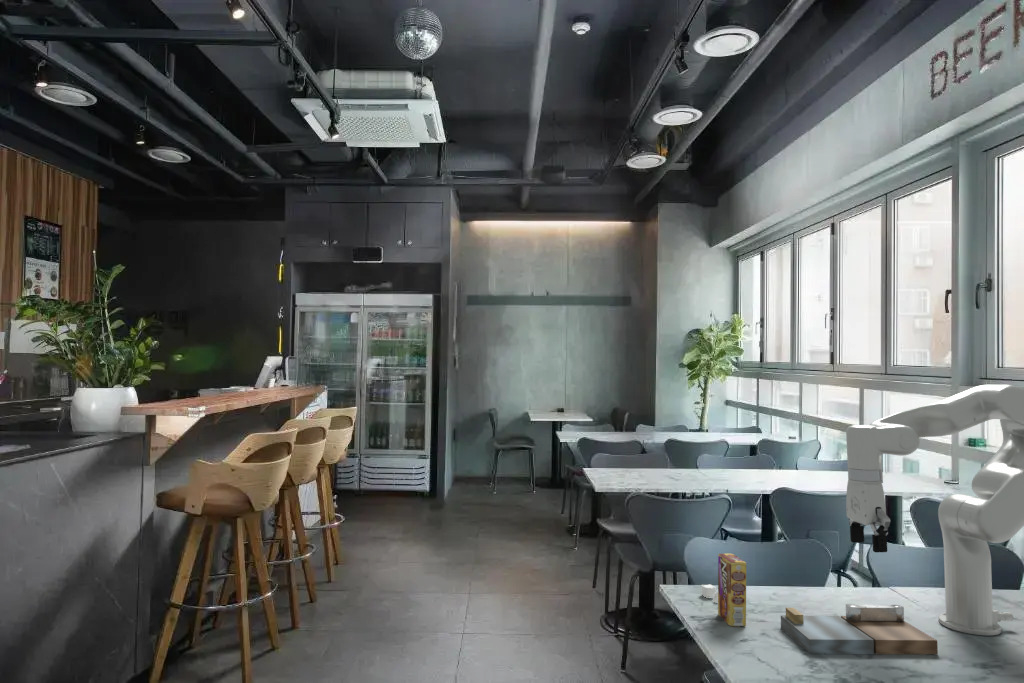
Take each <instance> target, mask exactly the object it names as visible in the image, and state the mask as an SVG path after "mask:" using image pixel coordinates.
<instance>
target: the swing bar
mask: <svg viewBox="0 0 1024 683" xmlns="http://www.w3.org/2000/svg"><path fill="white" fill-rule="evenodd" d="M845 616H846V619H848V620H850V621H857V622H858V621H905V608H904V606H903V605H900V604H899V605H898V604H855V603H847V604H845Z"/></svg>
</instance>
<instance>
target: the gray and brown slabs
mask: <svg viewBox="0 0 1024 683" xmlns="http://www.w3.org/2000/svg"><path fill="white" fill-rule="evenodd" d="M781 628H782V629H783V632H785V633H786V634H787V635H788V636H789V637H790V636H791V637H790V638H791V639H793V640H794V642H796V643H797V644H798V645H799V646H801V648H803V649H804V650H805V651H806V652H807V653H808V654H813V655H815V654H819V655H822V654H824V653H826V654H824V655H838V654H839V655H874V654H875V655H926V654H939V652H938V647H939V646H938V639H935V638H934V637H932V636H931V635H929V634H927V633H926V632H923V631H922V630H921V629H919V628H917V627H915V626H914V625H912V624H910V623H909V622H907V621H906V620H904V621H858V622H857V621H850V620H848V619H846V615H804V614H803V613H802V612H800V611H799V610H798V609H796V608H795V607H785V614H783V615H782V614H781V615H780V629H781ZM782 629H781V630H782Z"/></svg>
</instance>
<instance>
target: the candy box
mask: <svg viewBox="0 0 1024 683" xmlns="http://www.w3.org/2000/svg"><path fill="white" fill-rule="evenodd" d="M717 556H718V558H717V559H718V562H717V563H718V564H717V565H718V566H717V567H718V568H717V569H718V570H717V571H718V572H717V574H718V575H717V577H718V578H717V592H718V604H717V615H718V616H719V617H720V618H721V619H722V620H723V621H724V622H725V623H727V625H728V626H730V627H740V626H747V562H746V561H744V560H743V559H741V558H740V557H738V556H737V555H735V554H733V553H718V554H717Z"/></svg>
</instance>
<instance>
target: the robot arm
mask: <svg viewBox="0 0 1024 683" xmlns="http://www.w3.org/2000/svg"><path fill="white" fill-rule="evenodd" d="M992 420H999V423H1000V427H1001V432H1002V444H1001V446H1000V448H999V449H998V450H997V452H995V454H993V455H992V457H990V459H989V460H987V462H986V463H985V464H984V465H983V466H982V467H981V468H980V469H979V470H978V471H977V472H976V474H975V475H974V477H973V479H972V480H971V489H972V491H973V493H974V494H975V495H976V496H972V495H968V494H963V493H962V494H961V493H958V494H957V493H955V494H951V495H948V496H946V497H945V498H943V499H942V500H941V501H940V503H939V506H938V510H937V516H938V522H939V525H940V530H941V535H942V540H943V542H942V543H943V558H944V559H943V562H944V563H943V564H944V565H943V566H944V567H943V568H944V593H945V594H944V596H945V597H944V598H945V600H944V601H945V613H940V614H939V615H938V623H940V624H941V625H942V626H943V627H946V628H948V629H950V630H953V631H957V632H959V633H965V634H969V635H976V636H977V635H978V636H986V637H987V636H997V635H1000V634H1001V633H1002V626H1001V625H1000V624H999V623H1000V622H1001V621H1003V622H1013V620H1014V616H1013V614H1012V613H1011V612H1007V611H1006V612H1004V611H1003V612H1000V611H999V610H998V609H996V610H995V609H993V585H992V582H993V580H992V579H993V578H992V555H991V551H990V547H989V544H988V543H994V544H1001V543H1005V542H1007V541H1010V540H1011V539H1012V538H1013V537H1015V535H1017V534H1018V533H1019V532H1020V531H1021V530H1022V529H1023V527H1024V388H1023V387H1020V386H1017V385H1013V384H982V385H980V384H979V385H977V386H974V387H971V388H969V389H966V390H964V391H961V392H958V393H956V394H954V395H952V396H948V397H947V398H944V399H941V400H939V401H936V402H933V403H930V404H925V405H921V406H919V407H915V408H911V409H906V410H904V411H900V412H896V413H893V414H891V415H888V416H885V417H883V418H880V419H878V420H876V421H873V422H871V423H870V424H855V425H849V426H847V427H846V430H845V431H846V432H845V436H846V455H847V456H846V457H847V458H846V460H847V477H848V478H847V479H848V480H847V486H846V496H845V497H846V501H845V502H846V503H845V504H846V505H845V510H846V511H845V512H846V517H847V519H848V525H849V535H850V542H851V543H864V542H865V532H864V531H865V529H864V528H865V527H864V526H870V528H871V530H872V532H873V534H872V535H871V536H872V538H871V540H872V551H873V552H874V553H887V552H888V537H887V536H888V535H889V531H890V524H891V518H890V517H889V516H888V515H887V508H886V507H887V506H886V498H885V491H884V486H883V484H884V476H883V475H884V474H883V455H892V456H900V457H901V456H909V455H911V454H913V453H914V452H916V451H917V450H918V448H919V446H920V441H921V440H920V439H921V438H928V437H929V438H931V437H935V438H936V437H945V436H951V435H956V434H958V433H960V432H963V431H965V430H967V429H968V430H969V429H970V428H972V427H975V426H978V425H981V424H982V423H985V422H987V421H992Z"/></svg>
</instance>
